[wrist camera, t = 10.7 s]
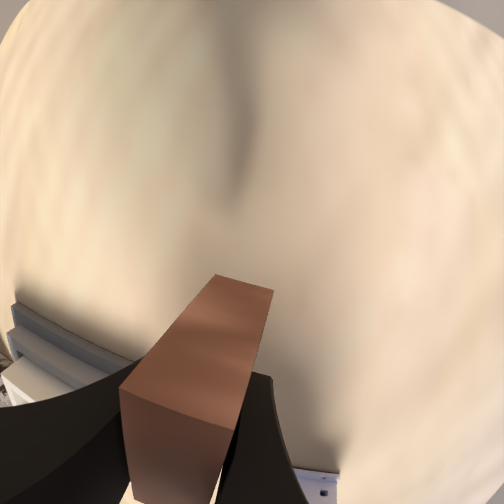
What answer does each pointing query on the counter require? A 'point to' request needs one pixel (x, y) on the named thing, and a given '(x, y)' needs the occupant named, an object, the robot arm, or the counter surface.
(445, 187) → the counter surface
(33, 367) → the white hollow block
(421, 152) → the counter surface
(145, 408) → the terracotta flat slab
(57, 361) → the cradle
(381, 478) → the counter surface
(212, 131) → the counter surface
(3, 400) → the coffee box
